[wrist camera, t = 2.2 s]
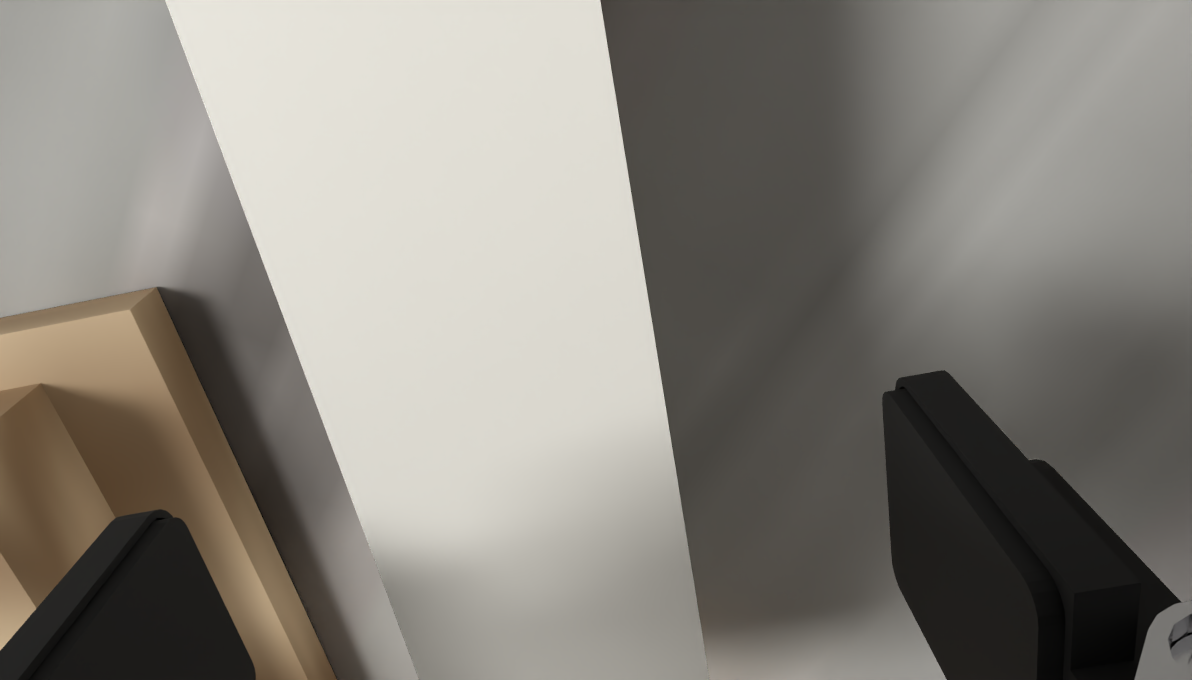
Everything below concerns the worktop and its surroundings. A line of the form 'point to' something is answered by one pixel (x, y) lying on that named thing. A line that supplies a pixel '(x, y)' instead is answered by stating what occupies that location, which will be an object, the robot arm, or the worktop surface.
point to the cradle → (130, 469)
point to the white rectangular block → (467, 317)
